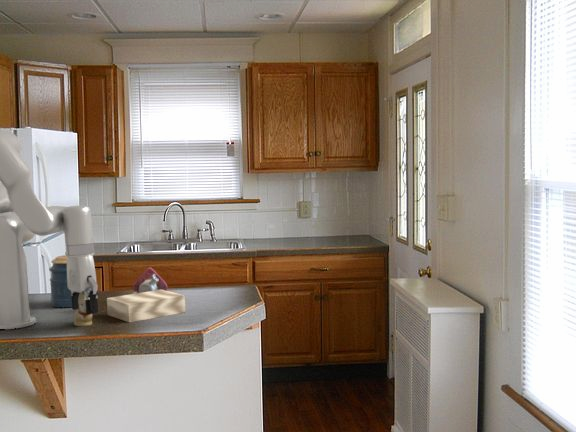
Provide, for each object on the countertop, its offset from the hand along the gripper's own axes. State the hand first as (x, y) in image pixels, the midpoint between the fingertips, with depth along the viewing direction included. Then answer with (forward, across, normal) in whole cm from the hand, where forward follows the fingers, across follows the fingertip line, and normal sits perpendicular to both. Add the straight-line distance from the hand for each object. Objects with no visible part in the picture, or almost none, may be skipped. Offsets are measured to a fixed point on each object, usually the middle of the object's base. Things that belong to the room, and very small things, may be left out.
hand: (85, 311), depth 203 cm
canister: (+4, -30, +8) cm, 32 cm away
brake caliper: (+4, -14, +27) cm, 31 cm away
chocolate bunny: (+4, 0, -1) cm, 4 cm away
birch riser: (+4, 0, +18) cm, 19 cm away
